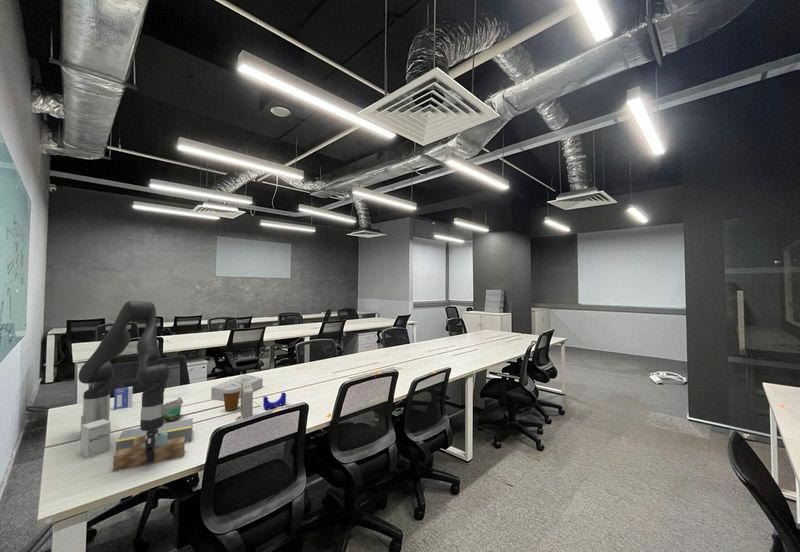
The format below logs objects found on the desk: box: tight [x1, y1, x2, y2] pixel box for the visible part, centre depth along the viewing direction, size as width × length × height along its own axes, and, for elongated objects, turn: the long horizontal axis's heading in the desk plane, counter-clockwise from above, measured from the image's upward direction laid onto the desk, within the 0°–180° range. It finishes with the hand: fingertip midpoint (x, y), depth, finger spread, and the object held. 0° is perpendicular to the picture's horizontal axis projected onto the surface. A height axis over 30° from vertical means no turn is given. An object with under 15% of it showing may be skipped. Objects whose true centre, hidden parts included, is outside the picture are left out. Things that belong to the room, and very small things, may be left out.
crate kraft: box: [133, 435, 146, 452], centre depth 126 cm, size 4×4×4 cm
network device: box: [234, 378, 254, 422], centre depth 164 cm, size 26×9×20 cm, turn 30°
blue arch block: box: [262, 392, 287, 410], centre depth 188 cm, size 12×4×6 cm, turn 129°
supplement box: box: [79, 419, 111, 459], centre depth 134 cm, size 7×7×13 cm
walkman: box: [113, 386, 134, 411], centre depth 182 cm, size 8×3×12 cm, turn 134°
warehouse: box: [210, 374, 263, 402], centre depth 211 cm, size 30×14×8 cm, turn 168°
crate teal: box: [154, 431, 168, 447], centre depth 130 cm, size 4×4×4 cm
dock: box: [115, 418, 194, 452], centre depth 143 cm, size 26×12×6 cm, turn 121°
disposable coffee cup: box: [222, 385, 241, 411], centre depth 183 cm, size 10×10×12 cm
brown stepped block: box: [112, 437, 186, 472], centre depth 128 cm, size 22×6×6 cm, turn 121°
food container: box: [164, 396, 184, 423], centre depth 166 cm, size 12×6×10 cm, turn 168°
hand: (151, 457), depth 128 cm, fingers closed on brown stepped block, 5 cm apart
